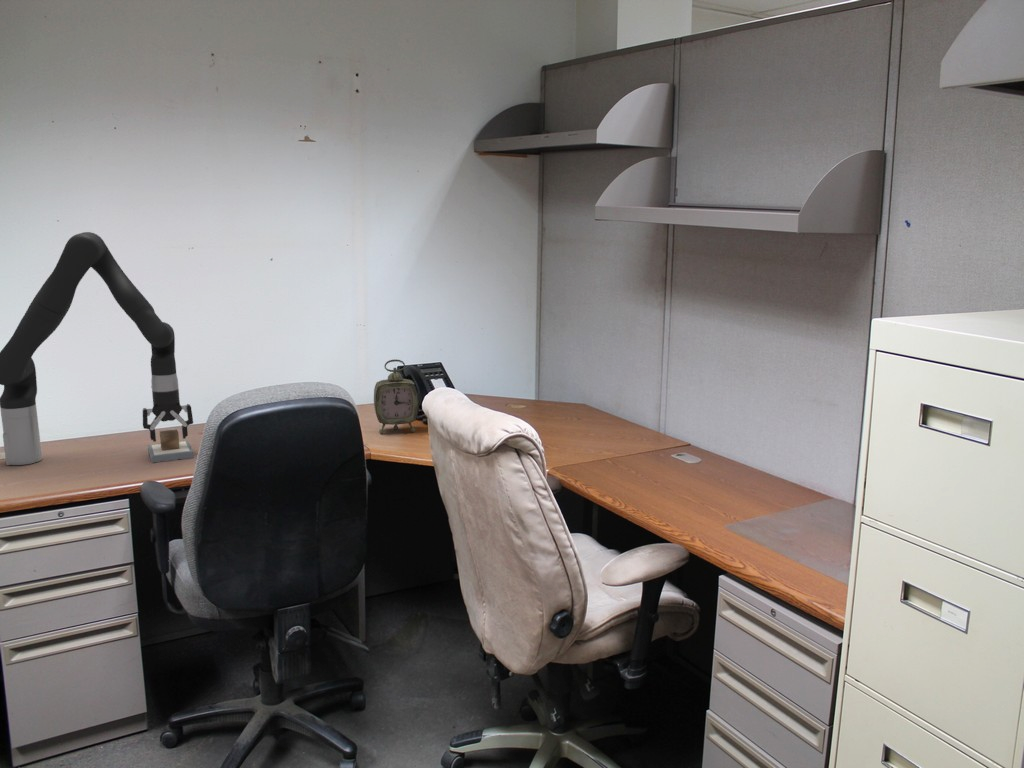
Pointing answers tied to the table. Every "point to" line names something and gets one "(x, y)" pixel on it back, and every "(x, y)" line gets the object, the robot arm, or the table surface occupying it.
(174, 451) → the board
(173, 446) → the cube
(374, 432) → the table surface
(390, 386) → the tabletop clock
